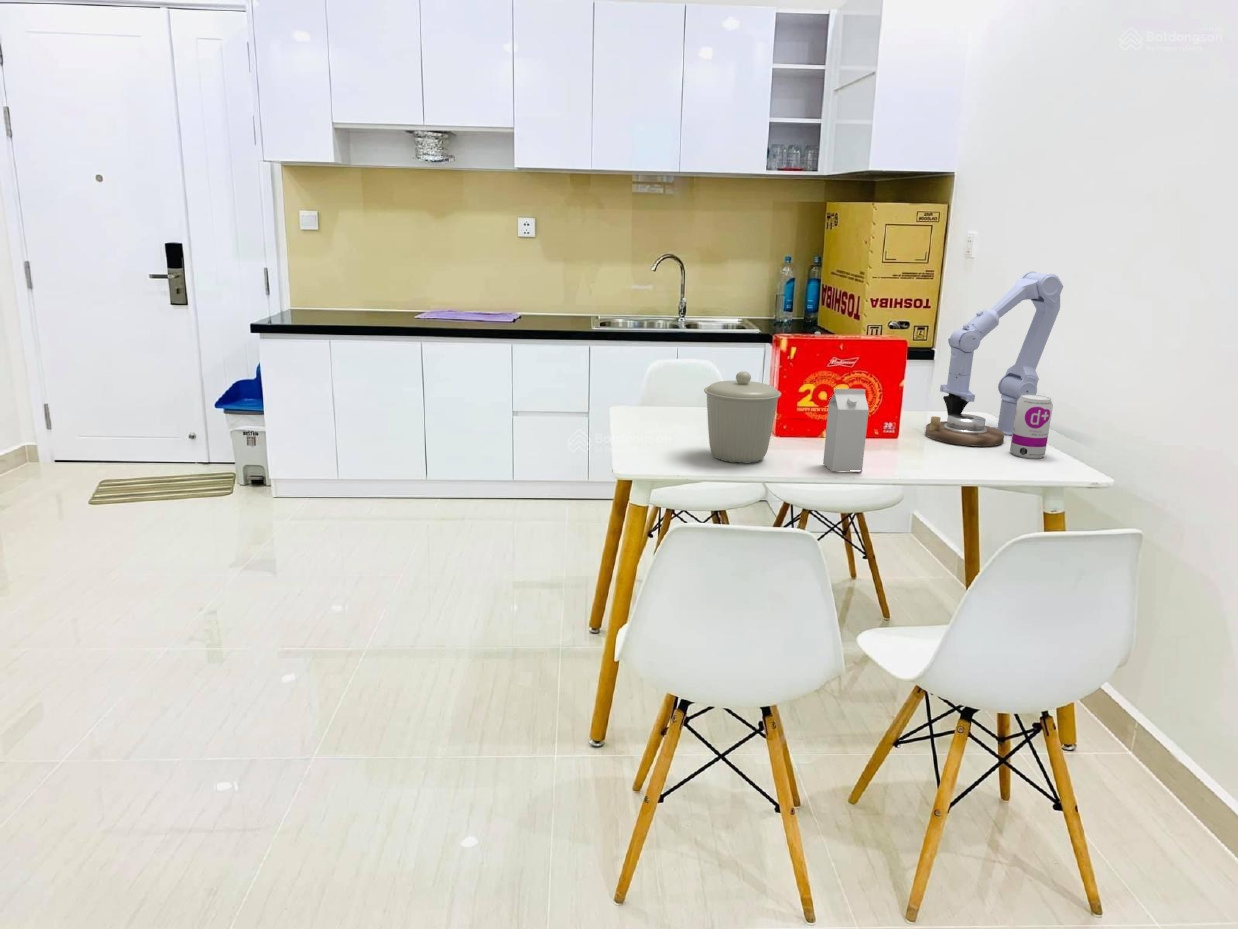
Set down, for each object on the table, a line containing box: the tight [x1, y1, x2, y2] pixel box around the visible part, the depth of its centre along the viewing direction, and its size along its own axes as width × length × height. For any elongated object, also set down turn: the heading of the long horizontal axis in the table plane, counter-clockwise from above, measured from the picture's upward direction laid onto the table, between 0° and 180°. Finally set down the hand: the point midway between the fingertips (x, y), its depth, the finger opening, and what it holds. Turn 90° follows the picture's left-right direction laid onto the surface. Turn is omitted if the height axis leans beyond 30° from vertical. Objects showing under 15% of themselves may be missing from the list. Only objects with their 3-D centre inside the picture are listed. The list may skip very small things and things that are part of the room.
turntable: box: [925, 415, 1005, 447], centre depth 247 cm, size 20×20×6 cm
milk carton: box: [822, 388, 869, 472], centre depth 211 cm, size 7×7×19 cm
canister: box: [703, 371, 782, 463], centre depth 217 cm, size 18×18×21 cm
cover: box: [944, 413, 987, 435], centre depth 246 cm, size 11×11×4 cm
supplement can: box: [1009, 394, 1054, 460], centre depth 230 cm, size 8×8×15 cm
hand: (953, 422), depth 252 cm, fingers closed
